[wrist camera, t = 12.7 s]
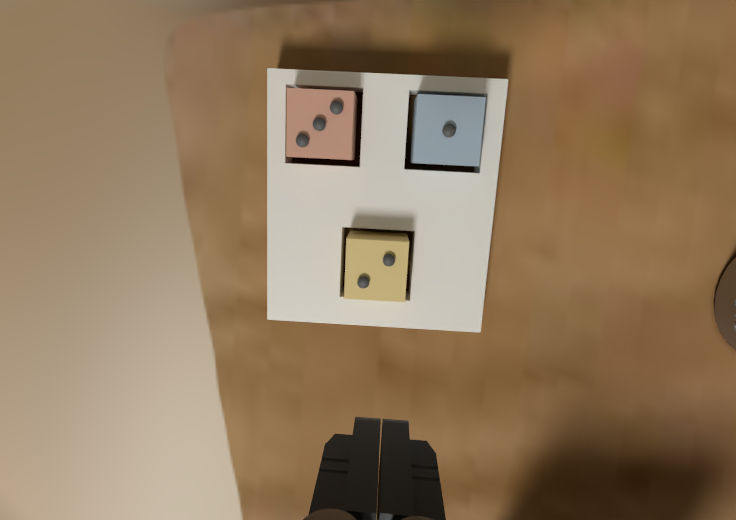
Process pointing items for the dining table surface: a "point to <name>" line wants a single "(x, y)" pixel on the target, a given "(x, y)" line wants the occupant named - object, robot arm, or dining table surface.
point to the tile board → (380, 207)
